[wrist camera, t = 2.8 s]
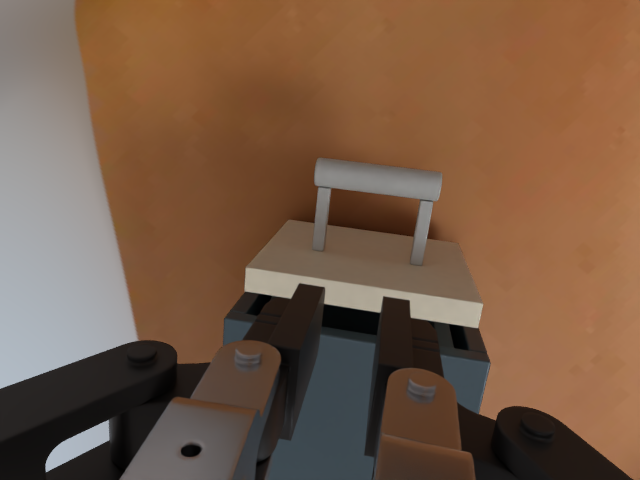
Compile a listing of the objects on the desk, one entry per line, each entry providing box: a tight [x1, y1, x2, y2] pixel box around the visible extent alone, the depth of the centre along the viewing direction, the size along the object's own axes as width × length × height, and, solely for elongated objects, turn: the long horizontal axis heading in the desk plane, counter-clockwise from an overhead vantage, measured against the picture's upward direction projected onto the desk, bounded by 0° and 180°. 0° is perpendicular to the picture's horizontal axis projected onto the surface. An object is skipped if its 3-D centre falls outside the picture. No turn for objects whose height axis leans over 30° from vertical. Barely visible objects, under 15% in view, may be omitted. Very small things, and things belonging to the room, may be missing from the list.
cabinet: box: [223, 291, 491, 480], centre depth 28 cm, size 15×12×11 cm
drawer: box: [244, 157, 483, 348], centre depth 26 cm, size 18×10×9 cm, turn 175°
